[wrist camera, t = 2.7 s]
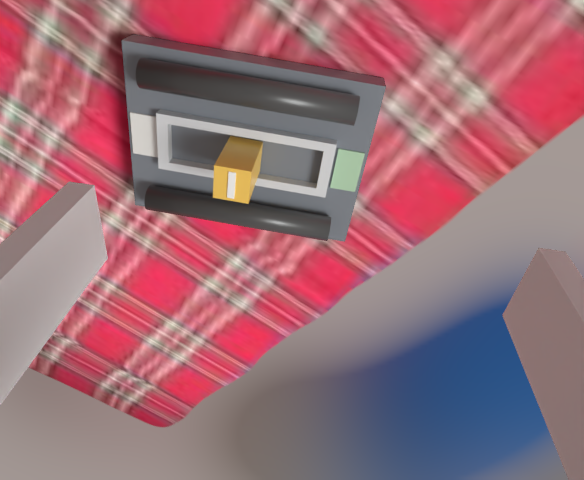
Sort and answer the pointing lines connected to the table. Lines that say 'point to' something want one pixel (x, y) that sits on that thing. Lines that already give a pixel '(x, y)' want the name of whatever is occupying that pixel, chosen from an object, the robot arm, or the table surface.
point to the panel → (248, 134)
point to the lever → (237, 169)
